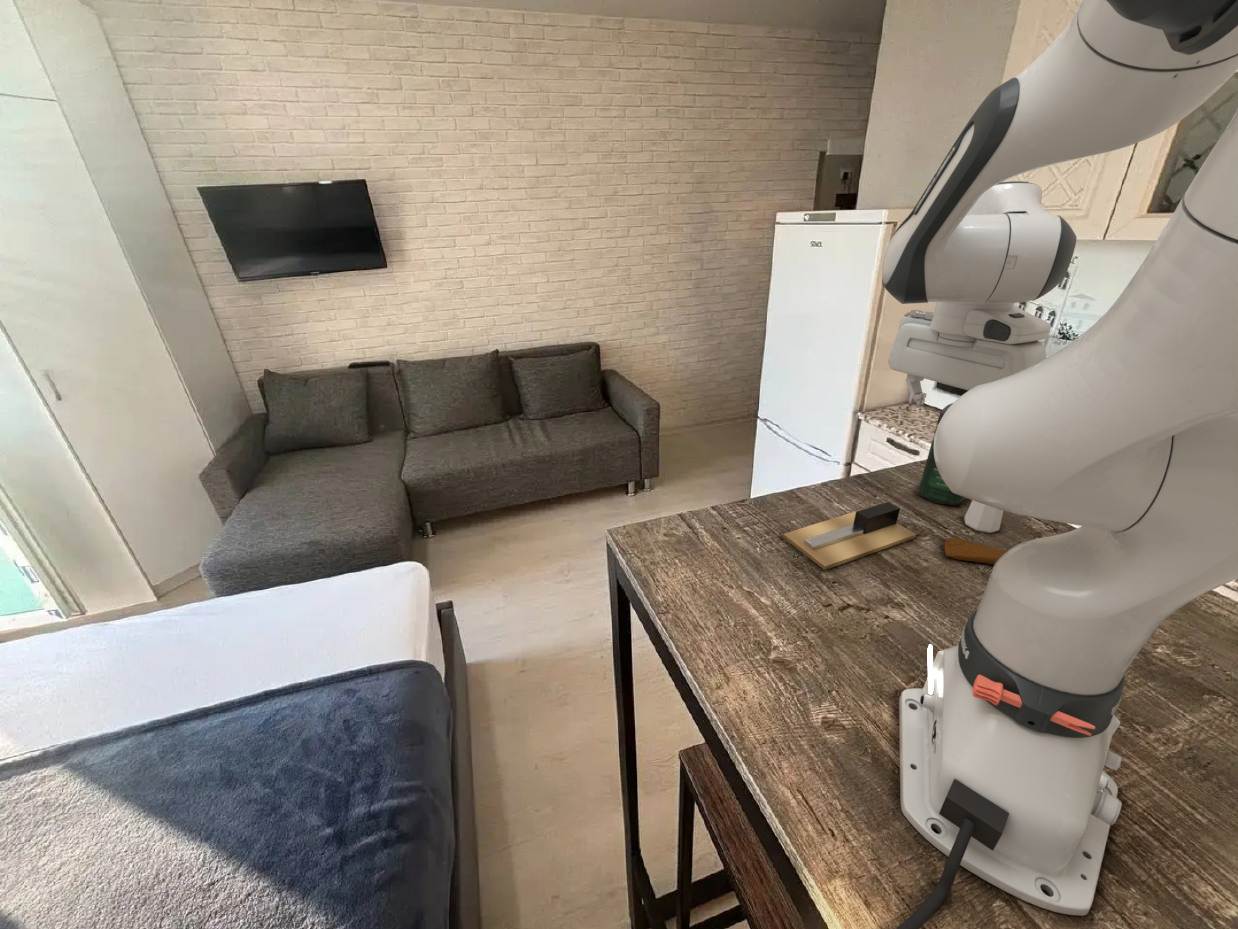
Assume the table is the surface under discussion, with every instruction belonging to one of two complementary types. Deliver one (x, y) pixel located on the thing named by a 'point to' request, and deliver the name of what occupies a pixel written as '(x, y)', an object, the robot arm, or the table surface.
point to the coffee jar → (936, 478)
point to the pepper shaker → (983, 517)
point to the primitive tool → (972, 551)
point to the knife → (858, 525)
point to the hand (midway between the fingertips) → (944, 413)
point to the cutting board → (846, 541)
